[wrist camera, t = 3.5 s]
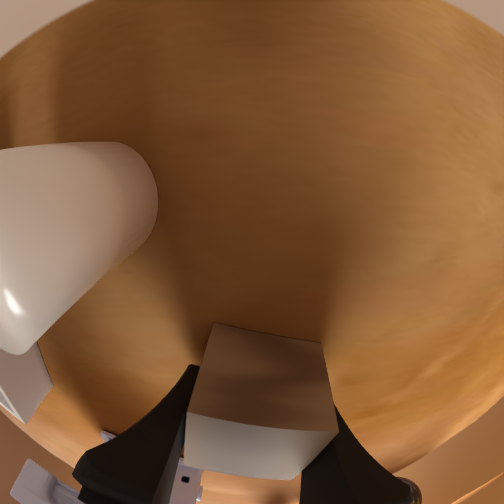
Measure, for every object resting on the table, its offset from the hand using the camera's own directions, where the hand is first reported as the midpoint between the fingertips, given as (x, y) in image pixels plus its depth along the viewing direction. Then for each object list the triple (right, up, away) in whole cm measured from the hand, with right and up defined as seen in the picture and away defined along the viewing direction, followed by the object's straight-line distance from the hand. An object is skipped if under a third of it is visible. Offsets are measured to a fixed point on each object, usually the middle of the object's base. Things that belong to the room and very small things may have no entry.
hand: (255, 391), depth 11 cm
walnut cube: (0, +1, +1) cm, 1 cm away
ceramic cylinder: (-6, +9, -1) cm, 11 cm away
